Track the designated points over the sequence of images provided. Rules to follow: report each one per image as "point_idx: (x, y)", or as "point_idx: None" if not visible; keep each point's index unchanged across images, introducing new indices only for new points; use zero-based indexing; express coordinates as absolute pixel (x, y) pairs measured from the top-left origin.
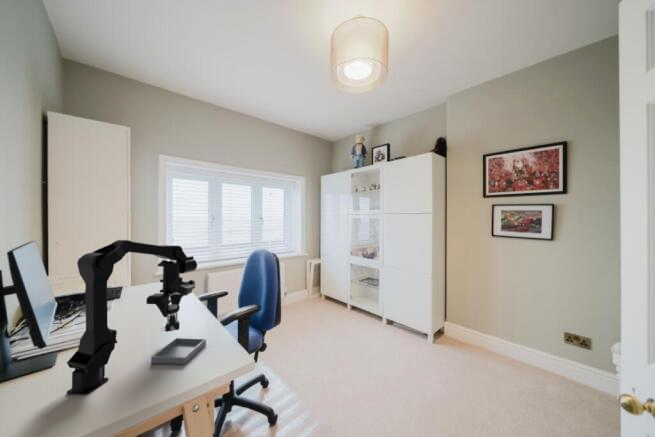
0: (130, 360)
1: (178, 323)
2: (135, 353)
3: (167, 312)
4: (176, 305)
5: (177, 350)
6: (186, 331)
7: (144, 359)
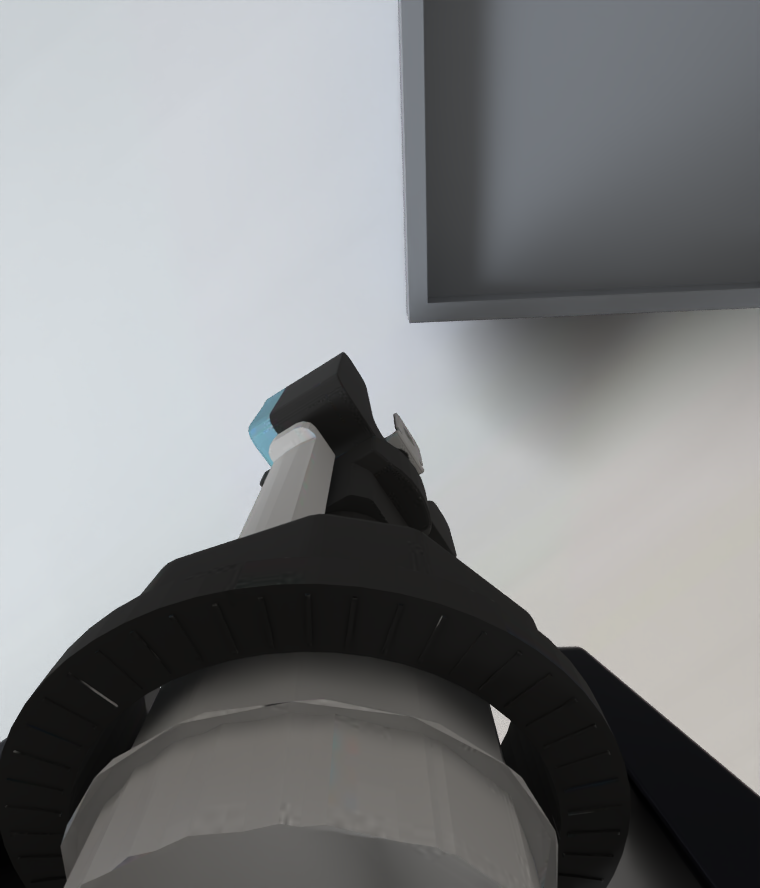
0: (721, 550)
1: (340, 381)
2: (599, 597)
3: (648, 746)
4: (232, 825)
5: (591, 161)
6: (100, 416)
7: (718, 436)
